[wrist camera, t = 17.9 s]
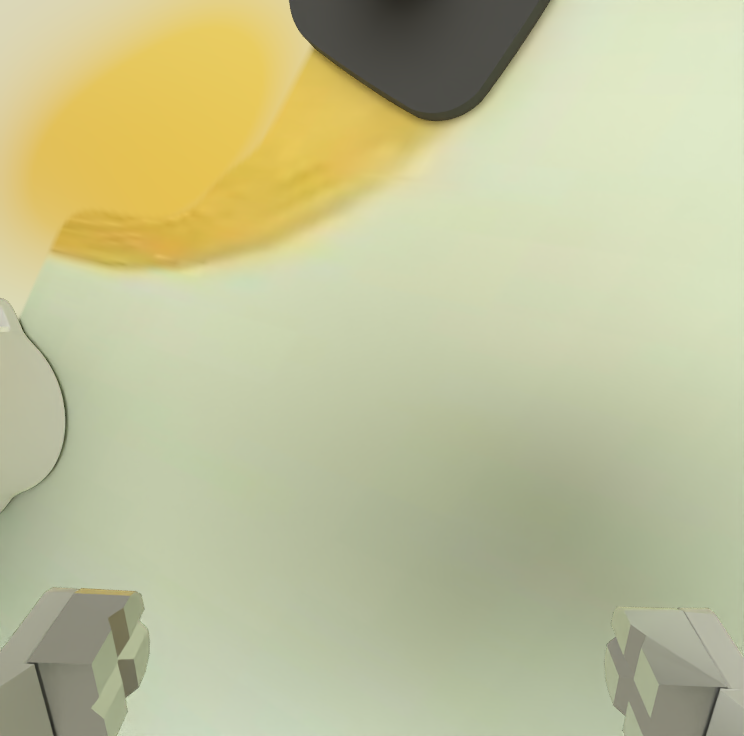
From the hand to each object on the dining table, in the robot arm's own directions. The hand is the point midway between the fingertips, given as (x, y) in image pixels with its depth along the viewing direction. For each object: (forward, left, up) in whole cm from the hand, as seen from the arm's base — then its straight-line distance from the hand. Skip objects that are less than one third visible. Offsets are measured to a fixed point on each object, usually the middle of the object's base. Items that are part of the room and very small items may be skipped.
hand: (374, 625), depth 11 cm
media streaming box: (-9, +24, -31) cm, 40 cm away
